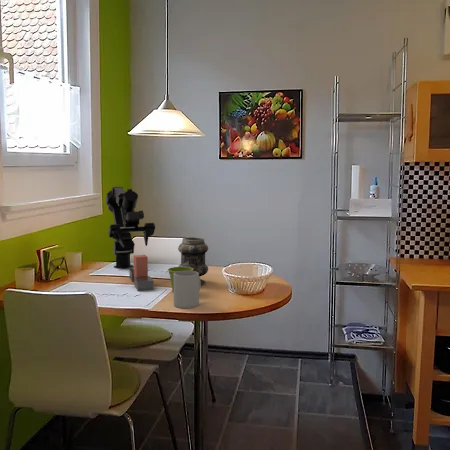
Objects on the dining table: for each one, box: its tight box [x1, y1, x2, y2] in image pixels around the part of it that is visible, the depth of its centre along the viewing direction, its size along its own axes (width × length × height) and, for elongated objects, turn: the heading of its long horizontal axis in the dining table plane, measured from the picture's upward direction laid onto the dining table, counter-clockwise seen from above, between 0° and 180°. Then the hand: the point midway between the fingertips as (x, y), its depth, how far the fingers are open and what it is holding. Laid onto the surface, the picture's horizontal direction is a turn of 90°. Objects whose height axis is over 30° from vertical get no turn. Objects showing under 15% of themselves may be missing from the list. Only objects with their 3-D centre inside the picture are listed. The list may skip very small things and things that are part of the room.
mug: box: [173, 271, 202, 309], centre depth 176 cm, size 12×8×11 cm
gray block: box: [128, 268, 154, 292], centre depth 205 cm, size 23×6×4 cm, turn 18°
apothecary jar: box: [177, 236, 209, 286], centre depth 205 cm, size 12×12×18 cm
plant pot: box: [167, 266, 193, 294], centre depth 192 cm, size 9×9×9 cm
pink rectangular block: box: [133, 254, 149, 284], centre depth 205 cm, size 4×4×11 cm
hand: (135, 246), depth 211 cm, fingers open, 9 cm apart
